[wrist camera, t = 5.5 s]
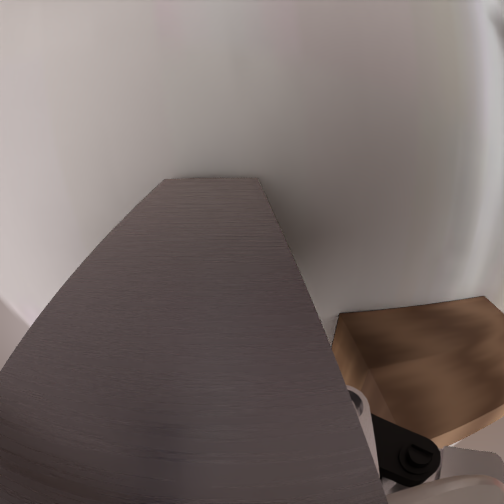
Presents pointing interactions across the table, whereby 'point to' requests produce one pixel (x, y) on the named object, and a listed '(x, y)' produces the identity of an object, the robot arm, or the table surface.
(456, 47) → the table surface
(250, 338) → the brushed grey post
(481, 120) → the table surface
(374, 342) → the wooden frame stool
